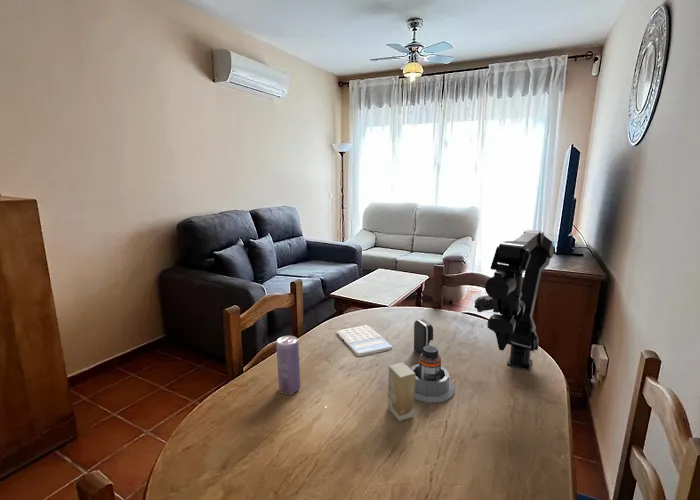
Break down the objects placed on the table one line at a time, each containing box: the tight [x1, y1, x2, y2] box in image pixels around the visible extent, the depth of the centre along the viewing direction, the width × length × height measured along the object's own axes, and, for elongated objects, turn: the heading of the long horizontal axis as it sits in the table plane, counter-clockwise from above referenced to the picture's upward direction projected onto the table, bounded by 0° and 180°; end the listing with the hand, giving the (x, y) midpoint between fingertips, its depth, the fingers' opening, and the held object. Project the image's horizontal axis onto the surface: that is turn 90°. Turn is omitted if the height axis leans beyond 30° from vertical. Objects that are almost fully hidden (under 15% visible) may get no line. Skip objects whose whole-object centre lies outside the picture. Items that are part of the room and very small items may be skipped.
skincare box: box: [387, 361, 415, 422], centre depth 97 cm, size 6×4×12 cm
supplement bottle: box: [418, 345, 442, 381], centre depth 107 cm, size 6×6×11 cm
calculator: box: [336, 324, 393, 357], centre depth 138 cm, size 13×20×2 cm, turn 24°
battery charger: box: [413, 319, 434, 356], centre depth 127 cm, size 7×4×11 cm, turn 21°
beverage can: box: [275, 335, 301, 395], centre depth 107 cm, size 6×6×15 cm
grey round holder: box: [410, 363, 456, 404], centre depth 108 cm, size 14×14×5 cm
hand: (505, 343), depth 107 cm, fingers open, 9 cm apart
